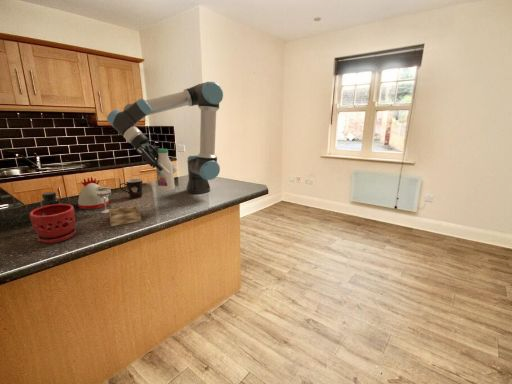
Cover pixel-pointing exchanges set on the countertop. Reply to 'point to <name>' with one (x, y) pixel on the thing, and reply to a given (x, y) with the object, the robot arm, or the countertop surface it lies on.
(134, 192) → the coffee mug
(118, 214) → the wooden tray
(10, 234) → the countertop surface
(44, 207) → the plant pot
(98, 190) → the wineglass
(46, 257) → the countertop surface
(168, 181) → the milk bottle
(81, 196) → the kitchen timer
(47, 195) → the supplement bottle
